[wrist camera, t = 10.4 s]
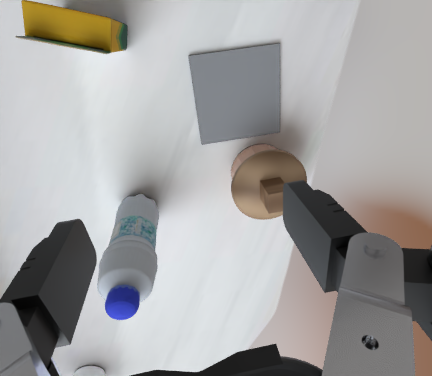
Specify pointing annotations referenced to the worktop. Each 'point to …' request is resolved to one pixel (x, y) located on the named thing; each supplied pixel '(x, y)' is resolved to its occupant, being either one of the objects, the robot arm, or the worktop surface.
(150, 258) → the bottle
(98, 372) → the bath foam
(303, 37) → the worktop surface
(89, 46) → the crayon box
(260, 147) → the bowl
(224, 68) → the felt pad
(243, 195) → the lid
